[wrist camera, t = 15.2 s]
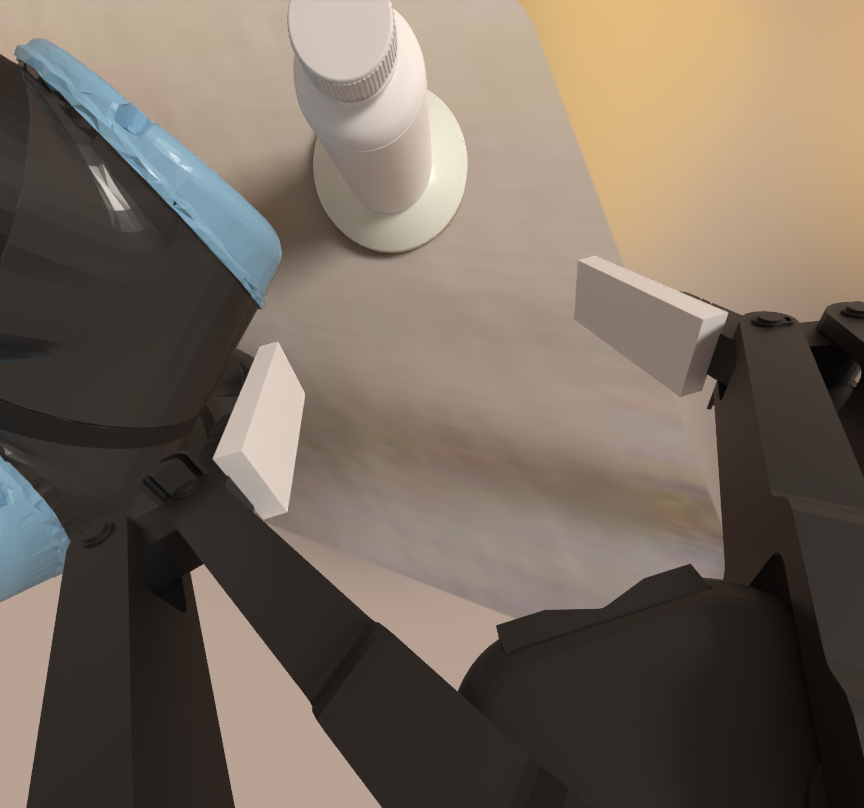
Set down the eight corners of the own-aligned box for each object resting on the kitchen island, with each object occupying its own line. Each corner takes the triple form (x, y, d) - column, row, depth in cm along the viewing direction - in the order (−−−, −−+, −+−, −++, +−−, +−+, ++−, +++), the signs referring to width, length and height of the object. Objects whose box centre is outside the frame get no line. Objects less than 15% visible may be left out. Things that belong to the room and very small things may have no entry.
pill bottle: (428, 220, 32) (409, 117, 18) (342, 210, 33) (252, 100, 18) (439, 124, 31) (429, -75, 16) (349, 114, 31) (258, -92, 16)
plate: (310, 241, 34) (305, 237, 33) (326, 78, 32) (321, 67, 31) (452, 264, 34) (452, 261, 33) (479, 101, 32) (481, 92, 30)
